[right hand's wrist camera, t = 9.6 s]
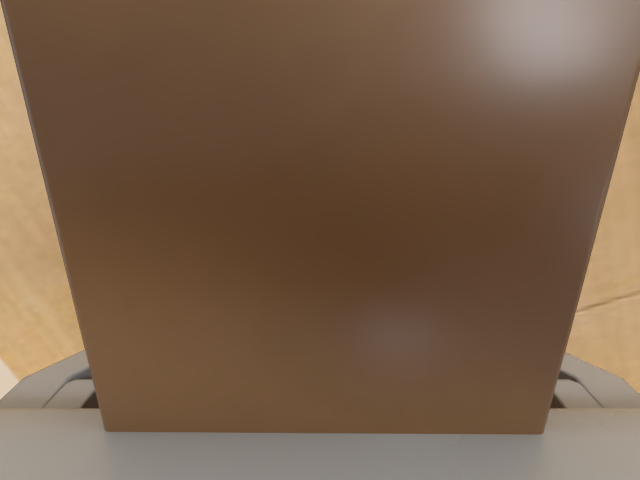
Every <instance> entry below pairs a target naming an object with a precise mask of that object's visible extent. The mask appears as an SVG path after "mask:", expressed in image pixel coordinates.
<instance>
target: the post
mask: <svg viewBox="0 0 640 480" xmlns="http://www.w3.org/2000/svg"><path fill="white" fill-rule="evenodd" d="M0 1H1V5H2V9H3V13H4V17H5V22H6V26H7V30H8V34H9V38H10V42H11V46H12V50H13V55H14V59H15V63H16V67H17V71H18V75H19V79H20V83H21V88H22V92H23V96H24V100H25V104H26V108H27V112H28V116H29V120H30V125H31V129H32V133H33V137H34V141H35V145H36V149H37V153H38V158H39V162H40V166H41V170H42V174H43V178H44V182H45V186H46V191H47V195H48V199H49V203H50V207H51V211H52V215H53V219H54V223H55V228H56V232H57V236H58V240H59V244H60V248H61V252H62V256H63V261H64V265H65V269H66V273H67V277H68V281H69V285H70V289H71V293H72V298H73V302H74V306H75V310H76V314H77V318H78V322H79V326H80V331H81V335H82V339H83V343H84V347H85V351H86V355H87V359H88V364H89V368H90V372H91V376H92V380H93V384H94V388H95V392H96V396H97V401H98V405H99V409H100V413H101V417H102V421H103V425H104V429H105V431H107V432H208V433H366V434H525V435H540V434H543V433H544V429H545V425H546V421H547V418H548V414H549V410H550V406H551V403H552V399H553V395H554V391H555V387H556V384H557V380H558V376H559V372H560V369H561V365H562V361H563V357H564V354H565V350H566V346H567V342H568V338H569V335H570V331H571V327H572V323H573V320H574V316H575V312H576V308H577V305H578V301H579V297H580V293H581V289H582V286H583V282H584V278H585V274H586V271H587V267H588V263H589V259H590V256H591V252H592V248H593V244H594V240H595V237H596V233H597V229H598V225H599V222H600V218H601V214H602V210H603V207H604V203H605V199H606V195H607V191H608V188H609V184H610V180H611V176H612V173H613V169H614V165H615V161H616V158H617V154H618V150H619V146H620V142H621V139H622V135H623V131H624V127H625V124H626V120H627V116H628V112H629V109H630V105H631V101H632V97H633V93H634V90H635V86H636V82H637V78H638V75H639V71H640V0H0Z"/></svg>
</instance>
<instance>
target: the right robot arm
mask: <svg viewBox="0 0 640 480" xmlns="http://www.w3.org/2000/svg"><path fill="white" fill-rule="evenodd" d="M0 480H640V394H639V393H638V392H636V391H635V390H634V389H633V388H632V387H631V386H630V385H629V384H628V383H627V382H626V381H624V380H623V379H622V378H620V377H618V376H616V375H614V374H612V373H609V372H607V371H605V370H603V369H601V368H598V367H596V366H594V365H592V364H590V363H587V362H585V361H583V360H581V359H579V358H577V357H574V356H572V355H570V354H568V353H566V352H565V354H564V357H563V361H562V365H561V369H560V372H559V376H558V380H557V384H556V387H555V391H554V395H553V399H552V403H551V406H550V410H549V414H548V418H547V421H546V425H545V429H544V433H543V434H540V435H525V434H366V433H208V432H107V431H105V429H104V425H103V421H102V417H101V413H100V409H99V405H98V401H97V396H96V392H95V388H94V384H93V380H92V376H91V372H90V368H89V364H88V359H87V355H86V351H85V350H83V351H81V352H79V353H77V354H75V355H72V356H70V357H68V358H66V359H64V360H62V361H59V362H57V363H55V364H53V365H51V366H49V367H46V368H44V369H42V370H40V371H38V372H36V373H33V374H31V375H29V376H27V377H25V378H23V379H22V380H21V381H20V382H19V383H18V384H17V385H16V386H15V387H14V388H13V389H11V390H10V391H9V392H8V393H7V394H6V395H5V396H4V397H3V398H2V399H1V400H0Z"/></svg>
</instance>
